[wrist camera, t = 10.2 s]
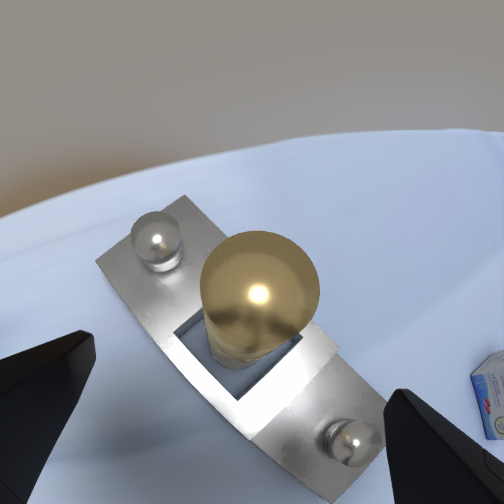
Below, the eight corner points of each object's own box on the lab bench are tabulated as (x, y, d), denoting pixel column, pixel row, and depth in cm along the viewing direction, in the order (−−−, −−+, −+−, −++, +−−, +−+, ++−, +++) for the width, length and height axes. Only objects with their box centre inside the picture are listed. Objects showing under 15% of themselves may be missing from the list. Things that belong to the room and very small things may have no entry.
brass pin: (273, 344, 20) (341, 287, 9) (235, 380, 19) (261, 371, 8) (237, 307, 21) (261, 211, 10) (198, 341, 19) (174, 279, 9)
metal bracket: (396, 418, 18) (435, 420, 14) (325, 499, 15) (353, 521, 11) (187, 212, 24) (182, 173, 19) (105, 273, 21) (82, 244, 16)
